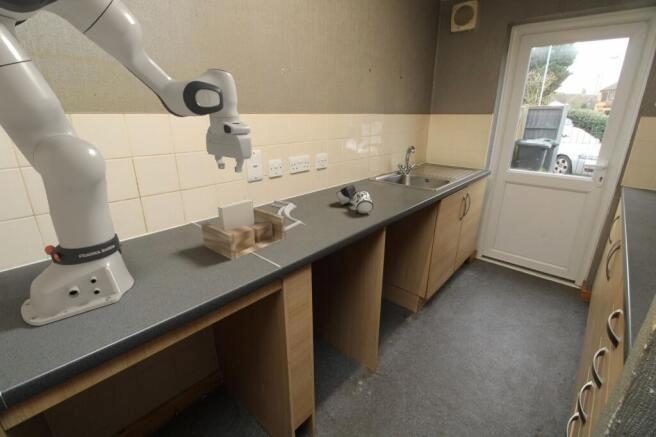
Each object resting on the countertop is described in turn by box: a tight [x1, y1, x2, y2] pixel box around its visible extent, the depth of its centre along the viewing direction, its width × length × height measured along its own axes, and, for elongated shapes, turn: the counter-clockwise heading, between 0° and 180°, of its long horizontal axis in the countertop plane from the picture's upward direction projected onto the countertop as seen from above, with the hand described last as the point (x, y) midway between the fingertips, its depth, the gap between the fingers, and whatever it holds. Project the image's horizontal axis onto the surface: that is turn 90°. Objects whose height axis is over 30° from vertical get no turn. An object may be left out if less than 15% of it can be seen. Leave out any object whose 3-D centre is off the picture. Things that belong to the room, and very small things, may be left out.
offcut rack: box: [200, 207, 287, 261], centre depth 105 cm, size 22×16×10 cm
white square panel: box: [217, 198, 255, 231], centre depth 107 cm, size 12×2×13 cm, turn 140°
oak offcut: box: [228, 226, 255, 253], centre depth 101 cm, size 8×5×6 cm, turn 140°
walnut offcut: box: [250, 222, 273, 243], centre depth 108 cm, size 6×4×5 cm, turn 140°
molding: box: [270, 199, 306, 232], centre depth 136 cm, size 42×12×3 cm, turn 14°
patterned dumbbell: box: [336, 184, 374, 215], centre depth 147 cm, size 25×10×10 cm, turn 26°
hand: (230, 170), depth 102 cm, fingers open, 8 cm apart
